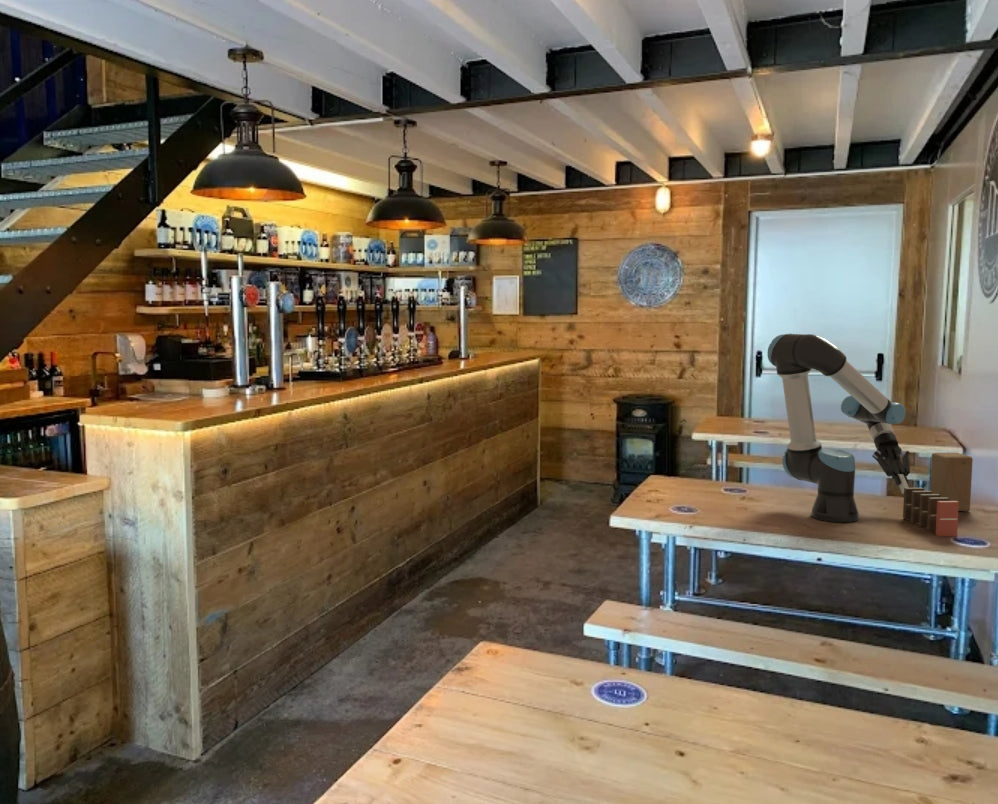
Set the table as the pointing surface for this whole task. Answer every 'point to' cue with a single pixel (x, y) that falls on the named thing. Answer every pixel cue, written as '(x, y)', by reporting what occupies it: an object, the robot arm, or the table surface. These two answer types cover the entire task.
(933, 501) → the tile
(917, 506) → the tile
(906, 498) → the tile
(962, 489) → the wooden block
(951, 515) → the end tile
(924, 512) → the tile
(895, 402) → the robot arm
